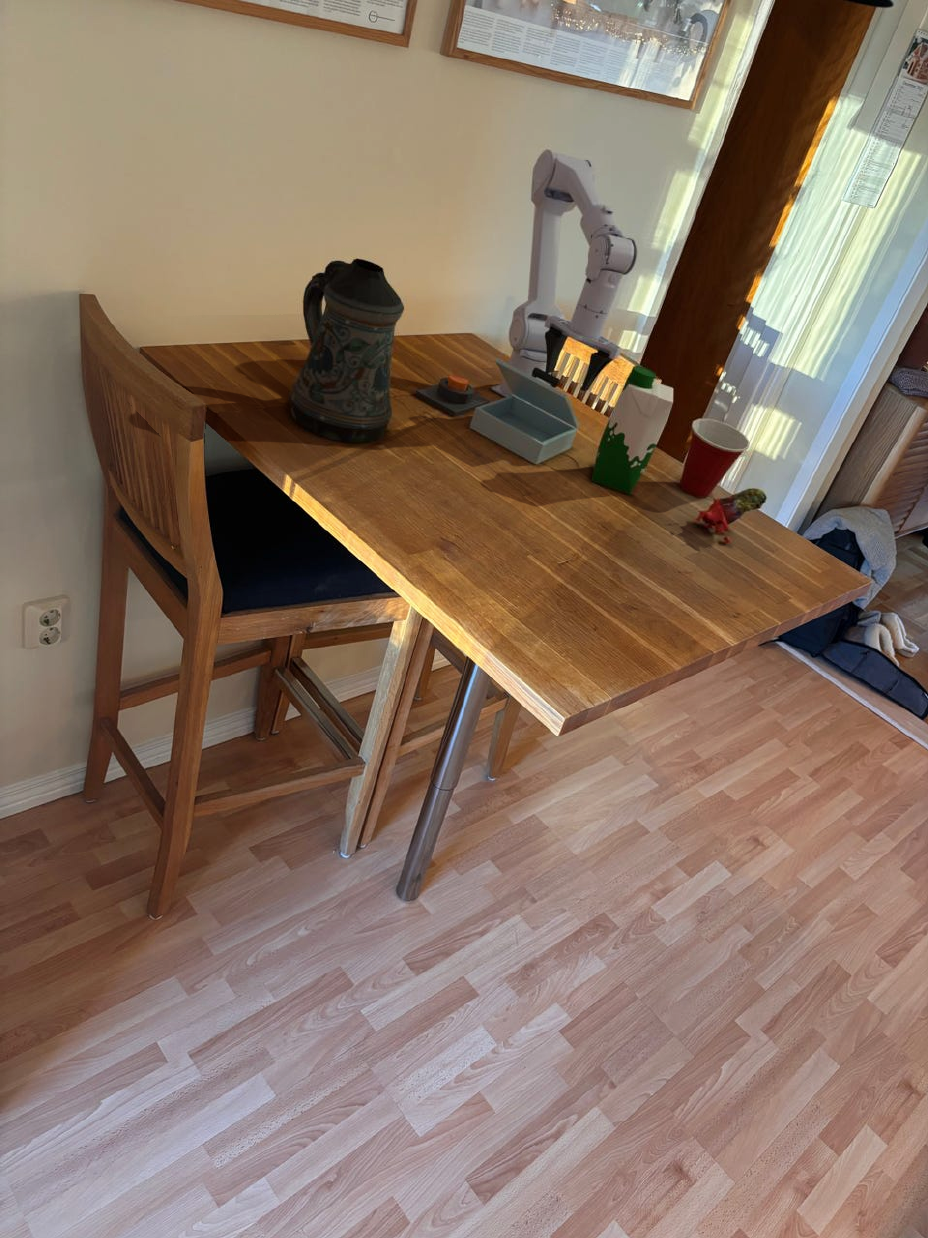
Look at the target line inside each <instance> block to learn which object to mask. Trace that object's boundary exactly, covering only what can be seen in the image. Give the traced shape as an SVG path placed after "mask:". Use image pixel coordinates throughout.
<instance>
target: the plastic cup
mask: <svg viewBox="0 0 928 1238" xmlns="http://www.w3.org/2000/svg"><path fill="white" fill-rule="evenodd" d="M691 429H692V434H691V439H690V444H689V447H688V452H687V455H686V458H685V462H684V465H683V470H682V474H681V476H680V481H679V482H680V483H679V487H680V488H681V489H682V490H683V491H685V493H688V494H689V495H691V496H694V497H697V498H701V499H702V498H703V499H705V498H708V497H709V496H710V495H711V494H712V493H713V491H714V490H715V488H717V486H718V484H719V483H720V482H721V481H722V480H723V478H724V477H725V476H726V474H727V473H728V472H729V470H730V469H731V468H732V466H733V465H734V463H735V462H736V461H737V460H738V459H739V458H740V456H741V455H742V454H743V453H744V452H746V451H747V450H748V449H749V448H750V445H751V443H750V440H749V439H748V437H747V436H746V435H745V434H744V433H743V432H741V431H740V430H739V429H737V428H735V427H733V426H732V425H730V424H728V423H725V422H723V421H720V420H717V419H711V418H697V419H695V420H693V421H692V424H691Z"/></svg>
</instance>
